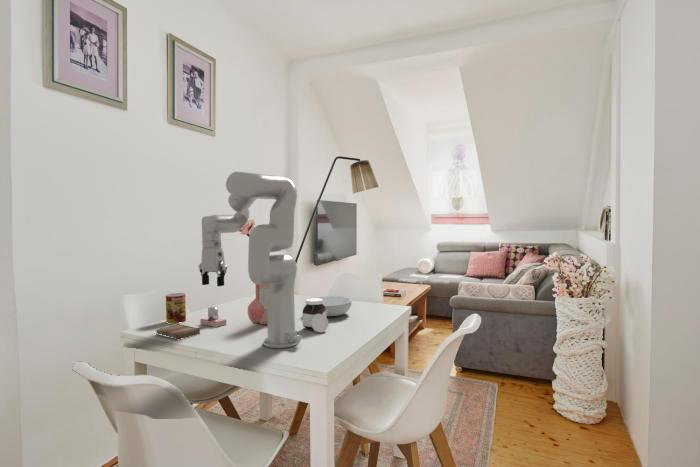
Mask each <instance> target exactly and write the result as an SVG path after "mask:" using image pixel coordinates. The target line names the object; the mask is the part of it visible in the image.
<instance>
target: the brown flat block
mask: <svg viewBox="0 0 700 467" xmlns="http://www.w3.org/2000/svg"><path fill="white" fill-rule="evenodd" d="M155 331H156V333H155V334H157V333H158V334H162V335H166V336H169V337H173V338H176V339H180V340H182V339H181V338H184V339H186V338H185V337H187V338H190V337H189V336H191V337H194V336H198V335H200V334H201V332H200V331H201V330H200V328H199V327H193V326H190V325H184V324H181V323H177V324H172V325H170V326H165V327H162V328H161V327H160V328H158V329H155ZM197 334H198V335H197ZM193 335H194V336H193ZM176 339H175V340H176Z"/></svg>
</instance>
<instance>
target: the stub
mask: <svg viewBox="0 0 700 467" xmlns="http://www.w3.org/2000/svg"><path fill="white" fill-rule="evenodd" d="M199 322H200V325H204V326H208V327H213V328H218V327H222V326H224V325H227V319H226V318H219V307H218V306H211V307H210V306H209V307H208V308H207V317H204V318H200V321H199Z"/></svg>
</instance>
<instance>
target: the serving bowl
mask: <svg viewBox="0 0 700 467" xmlns="http://www.w3.org/2000/svg"><path fill="white" fill-rule="evenodd" d="M314 298H320V299H323V305H324V306H325V307H326V311H327V316H335V317H338V316H341V315H344V314H346V313H347V312H348V311H349V310H350V308H351V306H352V299H351V298H349V297H347V296H340V295H339V296H338V295H328V296H327V295H325V296H324V295H321V296H316V297H314Z"/></svg>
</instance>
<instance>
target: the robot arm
mask: <svg viewBox="0 0 700 467" xmlns="http://www.w3.org/2000/svg"><path fill="white" fill-rule="evenodd" d="M225 188H226V190H227V192H228V193H229V194H230V195H229V196H228V199H227V202H228V205H229V207H230V208H231V209H233V211H235V212H236V213H235V214H212V215H205V216H203V217H202V218H201V244H202V245H201V246H202V249H201V250H202V251H201V259H200V260H201V262H200V263H199V265H198V269H199V273H200V276H201V284H202V285H203V286H206V285H207V286H208V285H209V284H210V275H209V273H215V274H216V275H217V277H216V284H217V287H223V286H225V276H226V273H227V271H228V265H227V264H226V263H225V261H226V260H225V255H224V250H223V248H222V234H226V233H227V234H230V233H231V234H232V233H233V234H234V233H238V232H240V231H241V230H242V229H243V228H244V227H245V225H247V223H248V222H249V219H250V208H251V206H252V205H253V204H254V203H255V201H257V199H260V200H275V201H274V203H273V204H272V206H271V207H270V211H269V223H268V224H266V223H265V224H258V225H256V226H254V227H253V228H252V230H251V232H250V234H249V238H248V261H247V272H248V276H249V279H250V281H251V282H252V283H253V284H254V285H258V286H259V285H263V284H269V283H271V284H270V286H269V289H268V293H267V317H268V325H267V338H264V339H263V344H262V345H264V346H265V347H267V348H270V349H286V348H291V347H294V346H297V345H298V344H299V343H301V340H303V335H301V334H298V330H296V328H295V327H296V325H295V324H296V323H295V283H296V278H297V270H298V269H297V268H298V267H297V262H296V260H295V258H293V256H291V255H290V254H273V255H272V254H270V253H274V252H284V251H287V250H289V249H291V248H292V247H293V244H294V236H295V235H294V232H295V230H294V229H295V211H296V204H297V199H298V198H297V197H298V194H297V192H298V191H297V188H296V185H295V184H294V183H293V181H292V179H289V178H287V177H285V176H282V175H281V176H280V175H273V174H262V173H255V172H254V173H253V172H244V171H234V172H231V173H230V174H229V175H228V176H227V178H226V181H225Z"/></svg>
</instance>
